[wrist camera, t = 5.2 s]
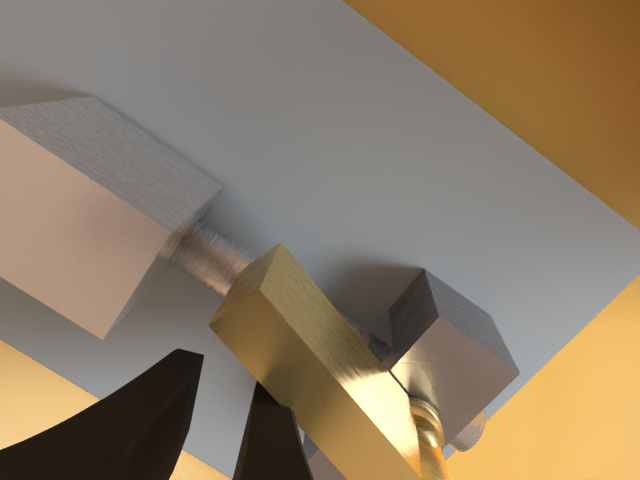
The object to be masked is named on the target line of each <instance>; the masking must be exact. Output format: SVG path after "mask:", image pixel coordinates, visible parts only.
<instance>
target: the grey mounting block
mask: <svg viewBox="0 0 640 480" xmlns="http://www.w3.org/2000/svg"><path fill="white" fill-rule="evenodd" d="M389 316H390V325H391V334H392V343H393V350H392V351H391V353H390V354H389V355H388V356H387V357H386V358H385V359H384V360H383V361H382V363H381V364H382V365H383V366H384V367H385V368H386V370H387V371H388V372H389V373H390V375H391V376H392V377H393V378H394V379H395V381H396V382H397V383H398V384H399V385H400V387H401V388H402V389H403V390H404V392H405V393H406V394H407V395H408V396H409V397H414V398H418V399H421V400H423V401H425V402H426V403H428V404H429V405H431V406H432V407H433V408H434V409H435V410H436V412H437V413H438V415H439V417H440V420H441V424H442V429H443V433H444V439H445V444H444V447H445V446H446V445H447V444H448V443H449V442H451V441H452V440H453V439H454V438H455V437H456V436H457V435H458V434H459V433H460V432H461V431H462V430H463V429H464V428H465V427H466V426H467V425H468V424H469V423H470V422H471V421H472V420H473V419H474V418H475V417H476V416H477V415H478V414H479V413H480V412H481V411H482V410H483V409H484V408H485V407H486V406H488V405H489V404H490V403H491V402H492V401H493V400H494V399H495V398H496V397H497V396H498V395H499V394H500V393H501V392H502V391H503V390H504V389H505V388H506V387H507V386H508V385H509V384H510V383H511V382H512V381H513V380H514V379H515V378H516V377H517V376H518V375H519V374H520V372H519V370H518V368H517V366H516V364H515V362H514V360H513V358H512V356H511V354H510V352H509V350H508V348H507V346H506V344H505V342H504V340H503V338H502V336H501V334H500V332H499V331H498V329H497V327H496V325H495V323H494V321H493V319H492V317H491V315H490V314H488V313H487V312H485V311H484V310H483V309H481V308H480V307H478V306H477V305H476V304H474V303H473V302H471V301H470V300H468V299H467V298H466V297H464V296H463V295H461V294H460V293H459V292H457V291H456V290H454V289H453V288H452V287H450V286H449V285H447V284H446V283H444V282H443V281H442V280H440V279H439V278H437V277H436V276H435V275H433V274H432V273H430V272H429V271H428V270H426V269H425V268H424V269H423V270H422V271H421V272H420V274H419V275H418V276H417V277H416V278H415V279H414V281H413V282H412V283H411V284H410V285H409V286H408V288H407V289H406V290H405V291H404V292H403V293H402V294H401V296H400V297H399V298H398V299H397V300H396V301H395V303H394V304H393V305H392V306H391V307H390V308H389ZM303 449H304V452H305V455H306V458H307V461H308V464H309V467H310V470H311V473H312V475H313V478H314V480H347V479H346V477H345V476H344V475H343V474H342V473H341V472H340V471H339V470H338V469H337V468H336V466H335V465H334V464H333V463H332V462H331V461H330V460H329V459H328V458H327V456H326V455H325V454H324V453H323V452H322V451H321V450H320V449H319V448H318V447H317V445H316V444H315V443H314V442H313V441H312V440H311V439H310V438H309V437H308V435H307V434H306V433H305V435H304V442H303Z"/></svg>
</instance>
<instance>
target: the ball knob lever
mask: <svg viewBox="0 0 640 480" xmlns="http://www.w3.org/2000/svg"><path fill="white" fill-rule="evenodd" d="M208 326H209V327H210V328H211V329H212V331H213V332H214V333H215V334H216V335H217V336H218V337H219V338H220V339H221V340H222V342H223V343H224V344H225V345H226V346H227V347H228V348H229V349H230V350H231V352H232V353H233V354H234V355H235V356H236V357H237V358H238V359H239V360H240V361H241V363H242V364H243V365H244V366H245V367H246V368H247V369H248V370H249V371H250V373H251V374H252V375H253V376H254V377H255V378H256V379H257V380H258V381H259V382H260V384H261V385H262V386H263V387H264V388H265V389H266V390H267V391H268V392H269V394H270V395H271V396H272V397H273V398H274V399H275V400H276V401H277V402H278V403H279V405H282V406H286V407H289V408H291V409H292V410H293V412H294V413H295V418H296V422H297V424H298V426H299V427H300V428H301V429H302V430H303V431H304V432H305V433H306V434H307V435H308V437H309V438H310V439H311V440H312V441H313V442H314V443H315V444H316V445H317V447H318V448H319V449H320V450H321V451H322V452H323V453H324V454H325V455H326V456H327V458H328V459H329V460H330V461H331V462H332V463H333V464H334V465H335V466H336V468H337V469H338V470H339V471H340V472H341V473H342V474H343V475H344V476H345V477H346V479H347V480H449V479H448V474H447V469H446V464H445V459H444V455H443V449H444V444H445V439H444V433H443V429H442V424H441V420H440V417H439V415H438V413H437V412H436V410H435V409H434V408H433V407H432V406H431V405H429V404H428V403H426V402H425V401H423V400H421V399H418V398H414V397H409V396H408V395H407V394H406V393H405V392H404V390H403V389H402V388H401V387H400V385H399V384H398V383H397V382H396V381H395V379H394V378H393V377H392V376H391V375H390V373H389V372H388V371H387V370H386V368H385V367H384V366H383V365H382V364H381V362H380V361H379V360H378V359H377V358H376V356H375V355H374V354H373V353H372V351H371V350H370V349H369V348H368V347H367V345H366V344H365V343H364V342H363V341H362V339H361V338H360V337H359V336H358V334H357V333H356V332H355V331H354V330H353V328H352V327H351V326H350V325H349V324H348V322H347V321H346V320H345V319H344V317H343V316H342V315H341V314H340V313H339V311H338V310H337V309H336V308H335V307H334V305H333V304H332V303H331V302H330V300H329V299H328V298H327V297H326V296H325V294H324V293H323V292H322V291H321V290H320V288H319V287H318V286H317V285H316V283H315V282H314V281H313V280H312V279H311V277H310V276H309V275H308V274H307V273H306V271H305V270H304V269H303V268H302V266H301V265H300V264H299V263H298V262H297V260H296V259H295V258H294V257H293V256H292V254H291V253H290V252H289V251H288V249H287V248H286V247H285V246H284V245H283V243H282V242H280V243H278V244H277V245H276V246H274V247H273V248H271V249H270V250H269V251H267V252H266V253H265V254H263V255H262V256H260V257H259V258H258V259H256V260H255V261H254V262H252V263H251V264H249V265H248V266H247V267H245V268H244V269H243V270H241V271H240V272H239V274H238V275H237V277H236V279H235V280H234V282H233V284H232V286H231V287H230V289H229V291H228V292H227V294H226V296H225V298H224V299H223V301H222V303H221V304H220V306H219V308H218V310H217V311H216V313H215V315H214V316H213V318H212V320H211V322H210V323H209V325H208Z"/></svg>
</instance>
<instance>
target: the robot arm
mask: <svg viewBox="0 0 640 480" xmlns="http://www.w3.org/2000/svg"><path fill="white" fill-rule="evenodd" d="M203 360H204V355H203V354H199V353H195V352H191V351H187V350H183V349H179V348H177V349H176V350H174V351H172V352H171V353H169V354H168V355H167V356H165V357H164V358H162V359H161V360H160V361H158V362H157V363H156V364H154V365H153V366H152V367H150V368H149V369H147V370H146V371H144V372H143V373H142V374H140V375H139V376H137V377H136V378H134V379H133V380H131V381H130V382H128V383H127V384H125V385H124V386H122V387H121V388H119V389H118V390H116V391H115V392H113V393H112V394H110V395H108V396H107V397H105V398H104V399H102V400H100V401H98V402H97V403H95V404H93V405H92V406H90V407H88V408H86V409H85V410H83V411H81V412H80V413H78V414H76V415H74V416H73V417H71V418H69V419H67V420H65V421H63V422H61V423H59V424H57V425H55V426H54V427H52V428H50V429H48V430H45V431H43V432H41V433H39V434H37V435H35V436H33V437H31V438H28V439H26V440H24V441H22V442H19V443H17V444H14V445H12V446H9V447H7V448H4V449H2V450H0V480H169V478H170V476H171V474H172V472H173V470H174V468H175V465H176V463H177V460H178V458H179V455H180V453H181V450H182V448H183V445H184V442H185V440H186V437H187V435H188V432H189V429H190V425H191V420H192V415H193V410H194V405H195V400H196V395H197V390H198V385H199V380H200V375H201V370H202V365H203ZM232 480H314V478H313V475H312V473H311V470H310V467H309V464H308V461H307V458H306V455H305V452H304V449H303V445H302V441H301V438H300V434H299V430H298V426H297V422H296V418H295V413H294V412H293V410H292V409H291V408H289V407H286V406H282V405H279V403H278V402H277V401H276V400H275V399H274V398H273V397H272V396H271V395H270V394H269V392H268V391H267V390H266V389H265V388H264V387H263V386H262V385H261V384H260V382H259V381H258V380H257V382H256V385H255V389H254V393H253V397H252V401H251V405H250V410H249V414H248V418H247V422H246V426H245V430H244V434H243V438H242V442H241V446H240V450H239V454H238V459H237V463H236V467H235V471H234V475H233V479H232Z"/></svg>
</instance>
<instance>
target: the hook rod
mask: <svg viewBox="0 0 640 480" xmlns="http://www.w3.org/2000/svg"><path fill="white" fill-rule="evenodd" d="M222 187H223V185H221V184H220V183H218V182H217V181H216V180H214V179H213V178H211V177H210V176H208V175H207V174H205V173H204V172H203V171H201V170H200V169H198V168H197V167H195V166H194V165H192V164H191V163H189V162H188V161H187V160H185V159H184V158H182V157H181V156H179V155H178V154H176V153H175V152H174V151H172V150H171V149H169V148H168V147H166V146H165V145H163V144H162V143H161V142H159V141H158V140H156V139H155V138H153V137H152V136H150V135H149V134H147V133H146V132H145V131H143V130H142V129H140V128H139V127H137V126H136V125H134V124H133V123H132V122H130V121H129V120H127V119H126V118H124V117H123V116H121V115H120V114H119V113H117V112H116V111H114V110H113V109H111V108H110V107H108V106H107V105H105V104H104V103H103V102H101V101H100V100H98V99H97V98H95V97H94V96H90V97H82V98H74V99H66V100H58V101H50V102H42V103H34V104H26V105H18V106H10V107H2V108H0V277H2V278H3V279H5V280H7V281H8V282H10V283H11V284H13V285H15V286H16V287H18V288H19V289H21V290H23V291H24V292H26V293H28V294H29V295H31V296H32V297H34V298H36V299H37V300H39V301H40V302H42V303H44V304H45V305H47V306H48V307H50V308H52V309H53V310H55V311H56V312H58V313H60V314H61V315H63V316H65V317H66V318H68V319H69V320H71V321H73V322H74V323H76V324H77V325H79V326H81V327H82V328H84V329H85V330H87V331H89V332H90V333H92V334H94V335H95V336H97V337H98V338H100V339H102V340H103V339H104V338H105V337H106V336H107V335H108V334H109V333H110V332H111V331H112V330H113V329H114V328H115V327H116V325H117V324H118V323H119V322H120V321H121V320H122V319H123V318H124V317H125V316H126V315H127V314H128V313H129V312H130V310H131V309H132V308H133V307H134V306H135V305H136V304H137V303H138V302H139V301H140V300H141V299H142V298H143V296H144V295H145V294H146V293H147V292H148V291H149V290H150V289H151V288H152V287H153V286H154V285H155V284H156V283H157V281H158V280H159V279H160V278H161V277H162V276H163V275H164V274H165V273H166V272H167V271H168V270H169V268H170V267H171V265H172V264H173V265H175V266H176V267H178V268H179V269H181V270H182V271H184V272H186V273H187V274H189V275H190V276H192V277H193V278H195V279H196V280H198V281H199V282H201V283H202V284H204V285H205V286H207V287H208V288H210V289H211V290H213V291H214V292H216V293H217V294H219V295H221V296H222V297H224V298H225V296H226V294H227V292H228V291H229V289H230V287H231V286H232V284H233V282H234V280H235V279H236V277H237V275H238V274H239V272H240V271H241V270H243V269H244V268H245V267H247V266H248V265H249V264H251V263H252V262H254V261H255V260H256V259H258V258H259V256H257V255H256V254H254V253H253V252H251V251H250V250H248V249H247V248H245V247H244V246H242V245H241V244H239V243H238V242H236V241H235V240H233V239H232V238H230V237H229V236H227V235H226V234H224V233H223V232H222V231H220V230H219V229H217V228H216V227H214V226H213V225H211V224H210V223H208V222H207V221H205V220H204V219H202V218H203V217H204V215H205V213H206V212H207V210H208V209H209V207H210V206H211V204H212V203H213V201H214V200H215V198H216V197H217V195H218V194H219V192H220V191H221V189H222ZM339 313H340V314H341V315H342V316H343V317H344V319H345V320H346V321H347V322H348V324H349V325H350V326H351V327H352V328H353V330H354V331H355V332H356V333H357V334H358V336H359V337H360V338H361V339H362V341H363V342H364V343H365V344H366V345H367V347H368V348H369V349H370V350H371V351H372V353H373V354H374V355H375V356H376V358H377V359H378V360H379V361H380V362H381V363H382V361H383V360H384V359H385V358H386V357H387V356H388V355H389V354H390V353H391V351H392V350H393V347H392V346H390V345H389V344H387V343H386V342H384V341H383V340H381V339H380V338H378V337H377V336H375V335H374V334H372V333H371V332H369V331H368V330H366V329H365V328H363V327H362V326H361V325H359V324H358V323H356V322H355V321H353V320H352V319H350V318H349V317H347V316H346V315H344V314H343V313H341V312H340V311H339ZM485 423H486V414H485V411H484V409H483V410H482V411H481V412H480V413H479V414H478V415H477V416H476V417H475V418H474V419H473V420H472V421H471V422H470V423H469V424H468V425H467V426H466V427H465V428H464V429H463V430H462V431H461V432H460V433H459V434H458V435H457V436H456V437H455V438H454V439H453V440H452V441H451V442H449V443H448V444H447V445H449V446H450V447H452V448H453V449H455V450H457V451H459V452H463V451H466V450H468V449H470V448H471V447H472V446H474V444H475V443H476V442H477V441H478V440H479V438H480V436H481V435H482V433H483V430H484V427H485Z"/></svg>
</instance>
